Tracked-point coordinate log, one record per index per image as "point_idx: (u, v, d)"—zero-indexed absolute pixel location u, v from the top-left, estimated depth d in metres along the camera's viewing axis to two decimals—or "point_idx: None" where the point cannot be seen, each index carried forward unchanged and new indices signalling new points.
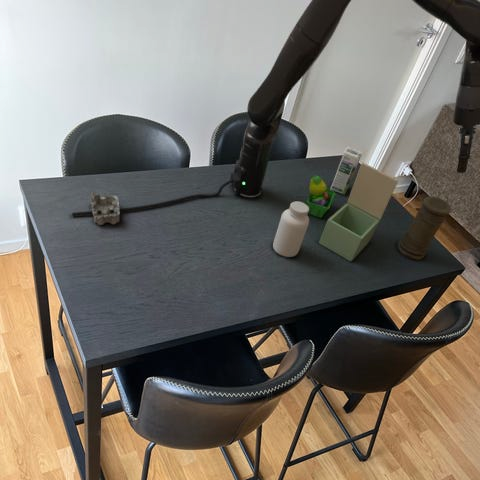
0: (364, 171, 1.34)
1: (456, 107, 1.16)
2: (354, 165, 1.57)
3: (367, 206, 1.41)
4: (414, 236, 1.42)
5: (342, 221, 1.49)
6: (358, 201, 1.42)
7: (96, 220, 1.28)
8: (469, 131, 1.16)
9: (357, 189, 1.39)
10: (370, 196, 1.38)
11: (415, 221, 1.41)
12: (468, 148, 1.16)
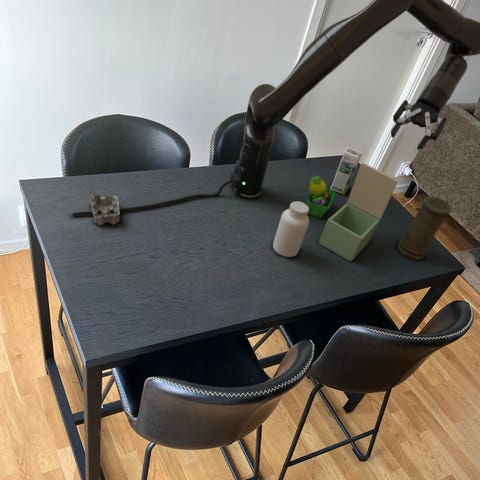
0: (364, 171, 1.34)
1: (442, 90, 1.30)
2: (354, 165, 1.57)
3: (367, 206, 1.41)
4: (414, 236, 1.42)
5: (342, 221, 1.49)
6: (358, 201, 1.42)
7: (96, 220, 1.28)
8: None
9: (357, 189, 1.39)
10: (370, 196, 1.38)
11: (415, 221, 1.41)
12: (441, 131, 1.33)
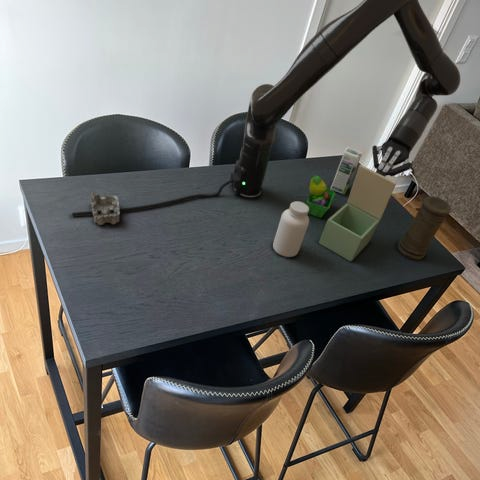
0: (362, 173, 1.33)
1: (412, 130, 1.30)
2: (354, 165, 1.57)
3: (367, 206, 1.41)
4: (414, 236, 1.42)
5: (342, 221, 1.49)
6: (358, 201, 1.42)
7: (96, 220, 1.28)
8: None
9: (356, 190, 1.39)
10: (369, 197, 1.38)
11: (415, 221, 1.41)
12: (400, 172, 1.33)
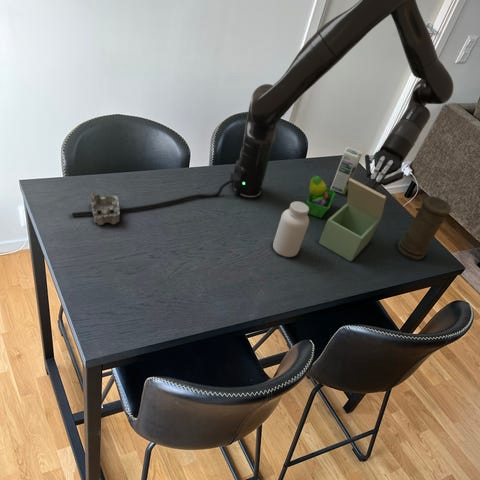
0: (353, 185, 1.32)
1: (405, 139, 1.28)
2: (354, 165, 1.57)
3: (365, 209, 1.41)
4: (414, 236, 1.42)
5: (342, 221, 1.49)
6: (356, 204, 1.42)
7: (96, 220, 1.28)
8: None
9: (352, 196, 1.38)
10: (365, 203, 1.37)
11: (415, 221, 1.41)
12: (393, 181, 1.32)
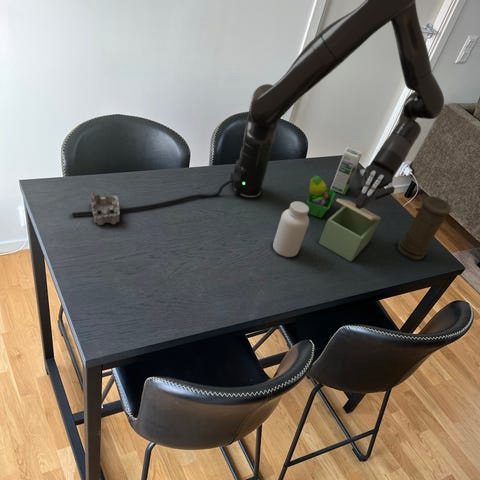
0: None
1: (395, 154, 1.28)
2: (354, 165, 1.57)
3: None
4: (414, 236, 1.42)
5: (342, 221, 1.49)
6: None
7: (96, 220, 1.28)
8: None
9: None
10: None
11: (415, 221, 1.41)
12: (384, 196, 1.32)
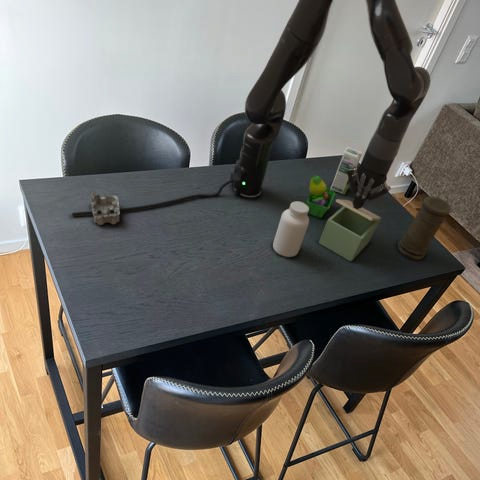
0: None
1: (381, 160, 1.17)
2: (354, 165, 1.57)
3: None
4: (414, 236, 1.42)
5: (342, 221, 1.49)
6: None
7: (96, 220, 1.28)
8: (385, 177, 1.23)
9: None
10: None
11: (415, 221, 1.41)
12: None
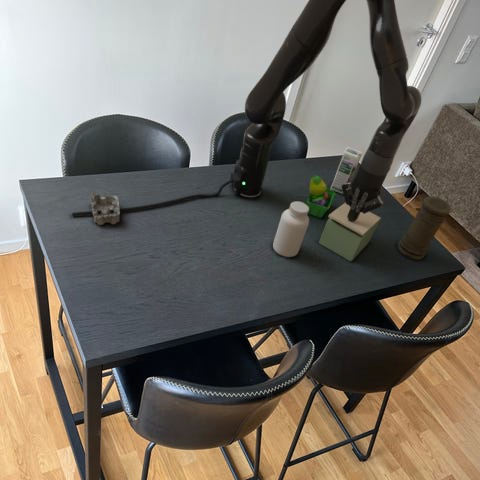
0: None
1: (374, 175, 1.20)
2: (354, 165, 1.57)
3: None
4: (414, 236, 1.42)
5: None
6: None
7: (96, 220, 1.28)
8: (379, 191, 1.26)
9: None
10: None
11: (415, 221, 1.41)
12: None
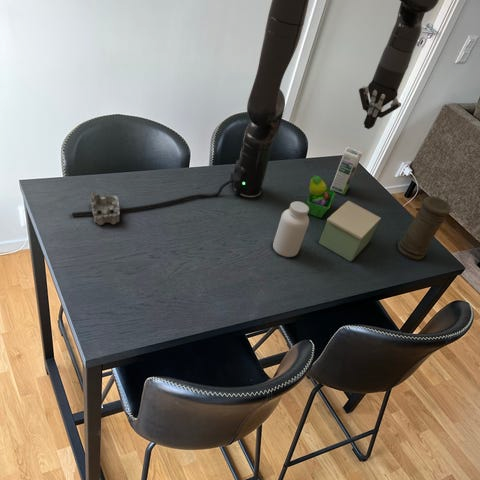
0: None
1: (392, 72, 1.21)
2: (354, 165, 1.57)
3: None
4: (414, 236, 1.42)
5: None
6: None
7: (96, 220, 1.28)
8: (396, 92, 1.27)
9: None
10: None
11: (415, 221, 1.41)
12: None
